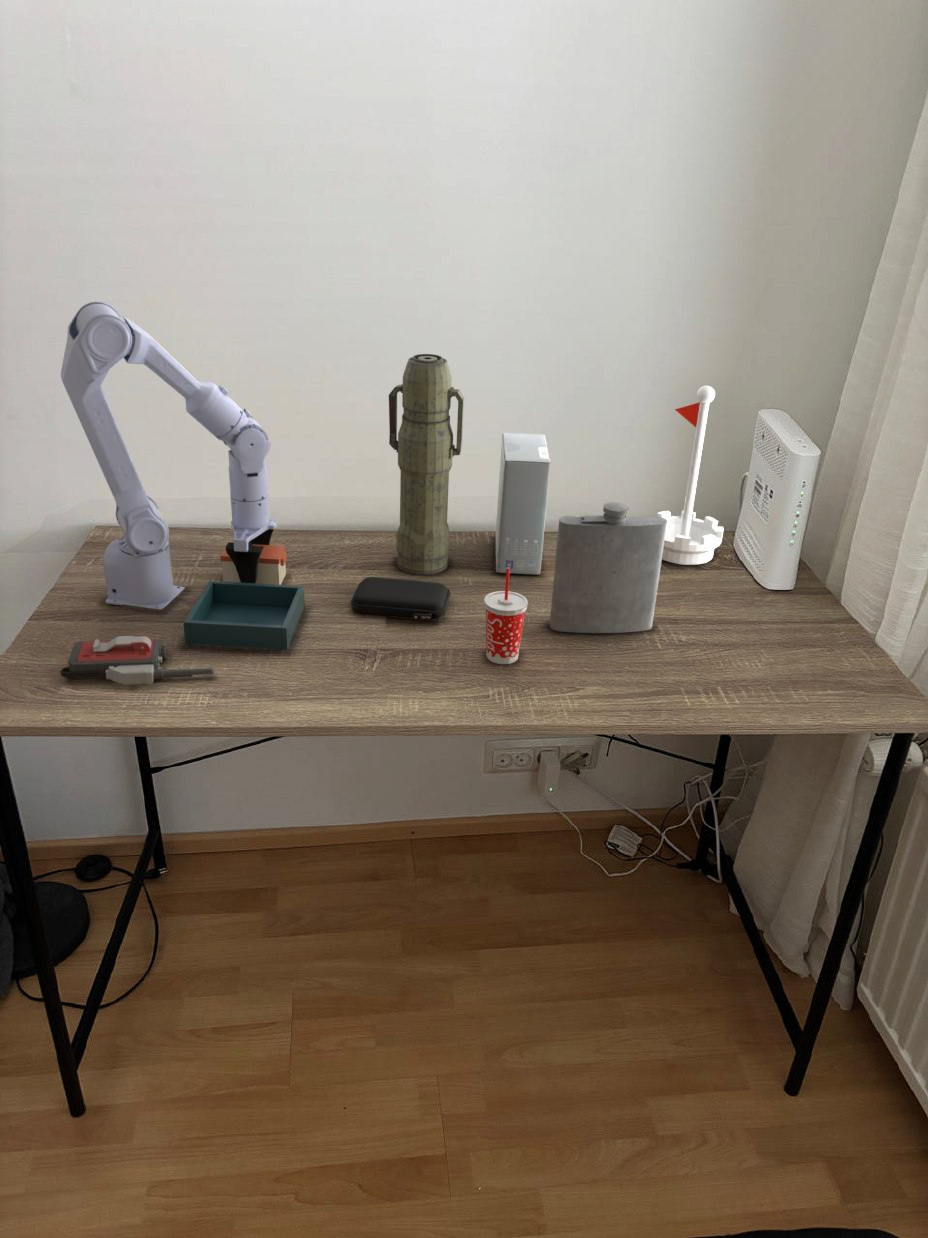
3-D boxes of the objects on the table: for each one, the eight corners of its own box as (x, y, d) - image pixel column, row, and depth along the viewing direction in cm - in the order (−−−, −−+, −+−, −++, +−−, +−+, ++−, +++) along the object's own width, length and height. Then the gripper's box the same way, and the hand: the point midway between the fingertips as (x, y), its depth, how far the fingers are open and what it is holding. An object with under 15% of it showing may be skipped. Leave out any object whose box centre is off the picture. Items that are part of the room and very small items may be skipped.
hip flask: (649, 620, 159) (666, 499, 150) (655, 633, 155) (673, 510, 146) (547, 621, 157) (558, 499, 148) (552, 634, 154) (564, 510, 144)
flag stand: (731, 551, 184) (760, 386, 170) (698, 574, 175) (726, 401, 161) (666, 531, 191) (689, 371, 177) (631, 552, 182) (653, 385, 168)
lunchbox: (220, 587, 163) (217, 555, 161) (228, 573, 168) (225, 542, 165) (283, 590, 163) (281, 559, 160) (289, 576, 168) (288, 546, 165)
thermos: (391, 550, 178) (392, 348, 162) (458, 555, 178) (467, 352, 161) (383, 572, 170) (385, 362, 154) (454, 577, 170) (463, 366, 154)
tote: (185, 647, 146) (183, 622, 144) (210, 603, 158) (208, 580, 156) (287, 653, 146) (286, 628, 144) (305, 609, 158) (304, 585, 156)
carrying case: (346, 620, 155) (443, 628, 154) (346, 602, 154) (443, 610, 152) (360, 589, 164) (451, 597, 163) (360, 572, 163) (452, 580, 162)
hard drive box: (541, 576, 172) (551, 463, 162) (495, 574, 172) (502, 460, 162) (536, 539, 185) (545, 432, 176) (494, 537, 185) (500, 430, 176)
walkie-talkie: (58, 691, 134) (214, 684, 137) (53, 662, 132) (212, 656, 135) (70, 658, 142) (218, 652, 145) (65, 630, 140) (215, 624, 143)
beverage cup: (474, 649, 149) (478, 562, 142) (512, 642, 151) (518, 556, 144) (491, 670, 144) (497, 580, 137) (530, 662, 146) (538, 574, 140)
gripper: (264, 514, 152) (269, 596, 158) (284, 480, 165) (287, 557, 171) (217, 511, 152) (223, 593, 158) (240, 477, 165) (245, 554, 171)
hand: (254, 574), depth 165 cm, fingers open, 7 cm apart
